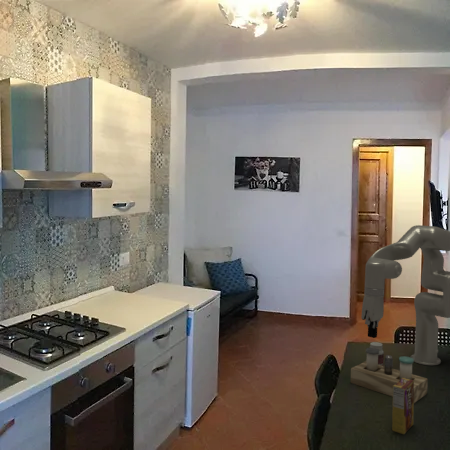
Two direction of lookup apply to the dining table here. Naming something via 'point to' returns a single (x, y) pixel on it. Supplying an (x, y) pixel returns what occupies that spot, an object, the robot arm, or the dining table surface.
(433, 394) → the dining table surface
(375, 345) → the pill bottle
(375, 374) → the wooden holder block
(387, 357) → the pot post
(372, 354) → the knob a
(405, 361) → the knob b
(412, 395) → the candy box
